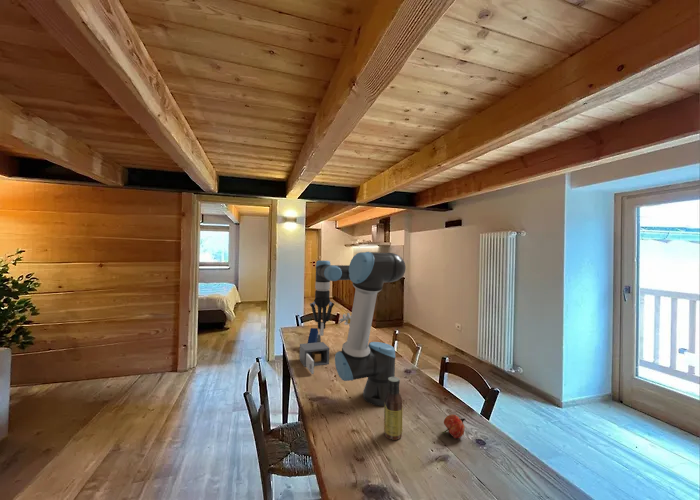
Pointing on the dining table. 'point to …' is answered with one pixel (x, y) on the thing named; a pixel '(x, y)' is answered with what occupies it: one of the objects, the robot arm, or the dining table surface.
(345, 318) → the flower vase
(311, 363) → the door
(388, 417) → the sauce bottle
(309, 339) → the blue block
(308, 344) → the block
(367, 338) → the robot arm
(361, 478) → the dining table surface
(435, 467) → the dining table surface
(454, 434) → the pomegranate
